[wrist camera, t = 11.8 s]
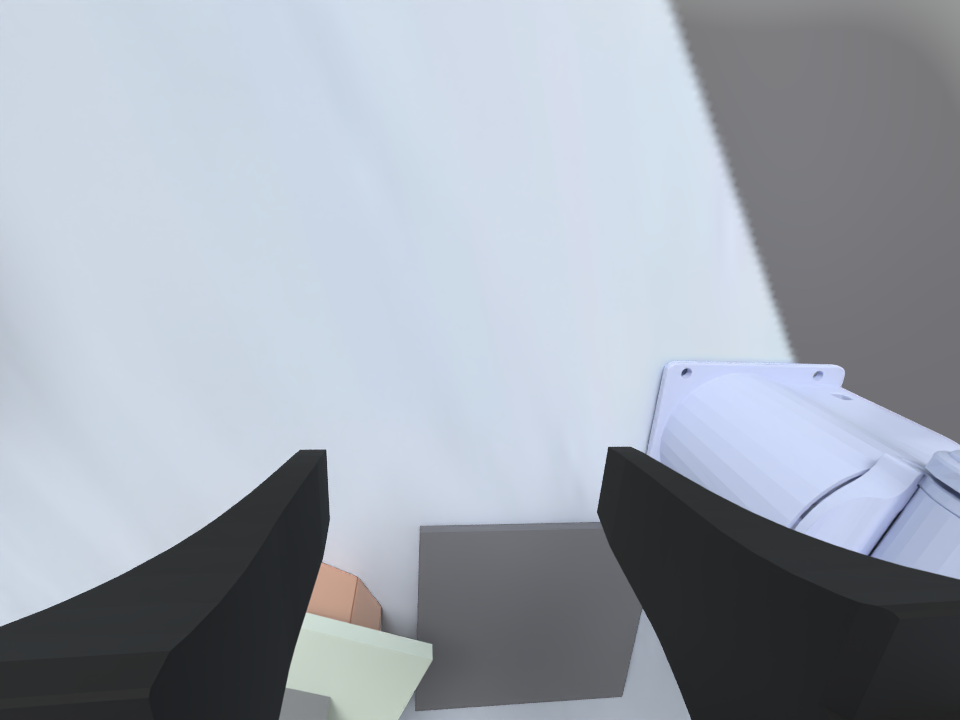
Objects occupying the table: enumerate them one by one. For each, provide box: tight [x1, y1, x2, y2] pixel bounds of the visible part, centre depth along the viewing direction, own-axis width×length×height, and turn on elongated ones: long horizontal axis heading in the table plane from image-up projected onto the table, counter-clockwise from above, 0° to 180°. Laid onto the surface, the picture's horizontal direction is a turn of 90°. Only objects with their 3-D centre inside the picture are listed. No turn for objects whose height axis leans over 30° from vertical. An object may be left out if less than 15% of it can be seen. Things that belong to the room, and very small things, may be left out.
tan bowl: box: [306, 563, 382, 631], centre depth 24 cm, size 9×9×4 cm
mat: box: [415, 522, 642, 711], centre depth 28 cm, size 13×13×1 cm
